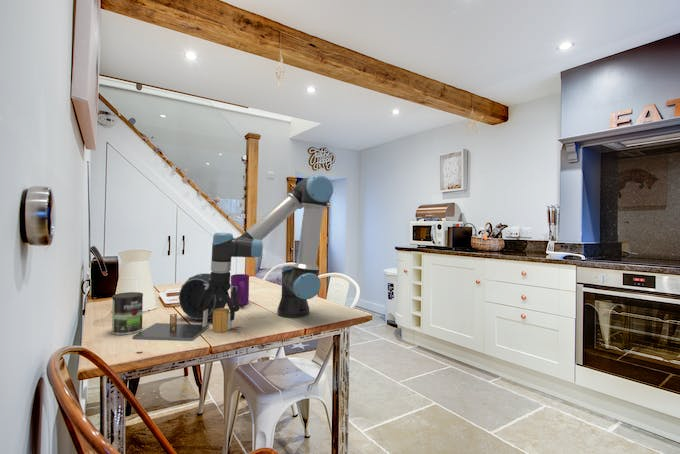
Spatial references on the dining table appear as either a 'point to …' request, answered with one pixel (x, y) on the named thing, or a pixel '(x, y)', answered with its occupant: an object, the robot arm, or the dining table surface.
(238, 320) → the dining table surface
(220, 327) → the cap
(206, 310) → the robot arm
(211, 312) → the studded dark pot
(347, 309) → the dining table surface
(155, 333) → the plate
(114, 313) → the coffee can
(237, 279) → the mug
